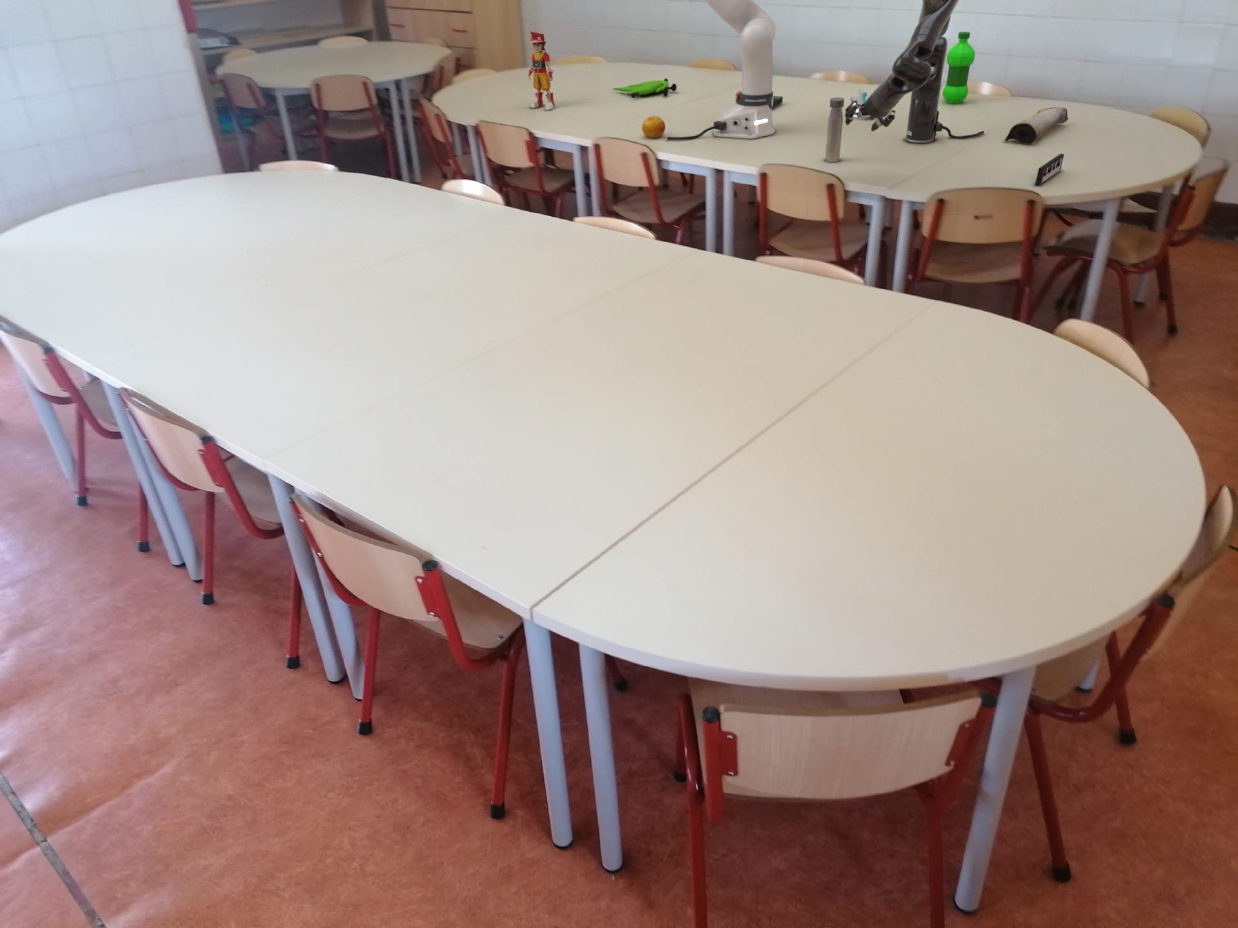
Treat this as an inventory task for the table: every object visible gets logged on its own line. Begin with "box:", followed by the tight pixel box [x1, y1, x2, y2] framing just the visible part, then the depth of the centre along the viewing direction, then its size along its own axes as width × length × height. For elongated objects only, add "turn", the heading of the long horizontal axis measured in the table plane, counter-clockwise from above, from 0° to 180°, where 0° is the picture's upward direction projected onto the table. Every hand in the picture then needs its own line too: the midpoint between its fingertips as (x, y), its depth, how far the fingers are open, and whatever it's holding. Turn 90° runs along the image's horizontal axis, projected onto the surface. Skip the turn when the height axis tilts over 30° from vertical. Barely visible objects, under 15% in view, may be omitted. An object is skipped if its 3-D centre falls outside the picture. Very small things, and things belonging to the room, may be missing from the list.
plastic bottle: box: [942, 31, 976, 104], centre depth 348 cm, size 10×10×25 cm
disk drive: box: [772, 95, 784, 109], centre depth 364 cm, size 10×3×15 cm
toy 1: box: [527, 31, 556, 111], centre depth 374 cm, size 12×9×30 cm
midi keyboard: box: [1035, 153, 1065, 186], centre depth 273 cm, size 18×1×5 cm, turn 138°
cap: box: [829, 96, 845, 109], centre depth 291 cm, size 4×4×2 cm
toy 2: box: [612, 78, 677, 99], centre depth 396 cm, size 28×5×30 cm
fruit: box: [641, 115, 666, 138], centre depth 334 cm, size 8×8×8 cm
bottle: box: [824, 107, 844, 163], centre depth 296 cm, size 5×5×19 cm
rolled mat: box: [1004, 106, 1069, 145], centre depth 312 cm, size 30×9×10 cm
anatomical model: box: [850, 88, 868, 120], centre depth 343 cm, size 15×10×10 cm
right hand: (859, 125), depth 282 cm, fingers open, 8 cm apart
